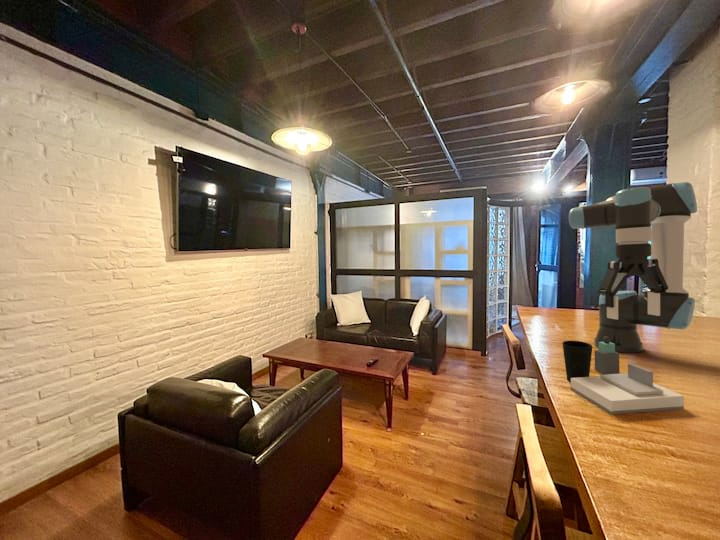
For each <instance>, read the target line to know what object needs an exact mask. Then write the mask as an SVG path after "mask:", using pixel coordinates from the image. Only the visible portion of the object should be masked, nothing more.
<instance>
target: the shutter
mask: <svg viewBox="0 0 720 540" xmlns="http://www.w3.org/2000/svg"><path fill="white" fill-rule="evenodd" d="M627 374H628V375H626V373H620V374H607V375H604V374H600V375H599V376H600V378H602V379H604V380H606V381H608V382H610V383H612V384H614V385H616V386H618V387H620V388H622V389H624V390H626V391H628V392H630V393H632V394H634V395H651V394H663V390H661V389H658V388H656V387H654V386H653V383H654V371H652V370H650V369H647V368H645V367H642V366H640V365H637V364H634V363H633V362H632V363H627Z"/></svg>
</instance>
